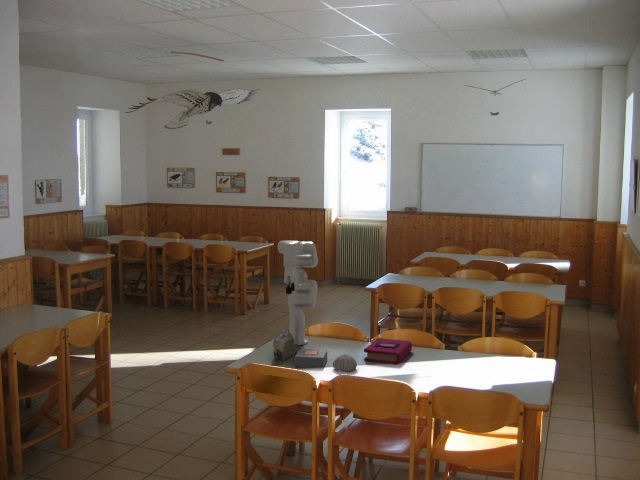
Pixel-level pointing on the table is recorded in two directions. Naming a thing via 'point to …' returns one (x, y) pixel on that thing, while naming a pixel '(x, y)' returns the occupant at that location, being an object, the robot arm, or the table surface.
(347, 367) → the sea urchin shell
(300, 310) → the robot arm
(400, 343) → the book
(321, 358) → the button box
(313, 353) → the button
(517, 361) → the table surface
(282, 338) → the fossil rock
